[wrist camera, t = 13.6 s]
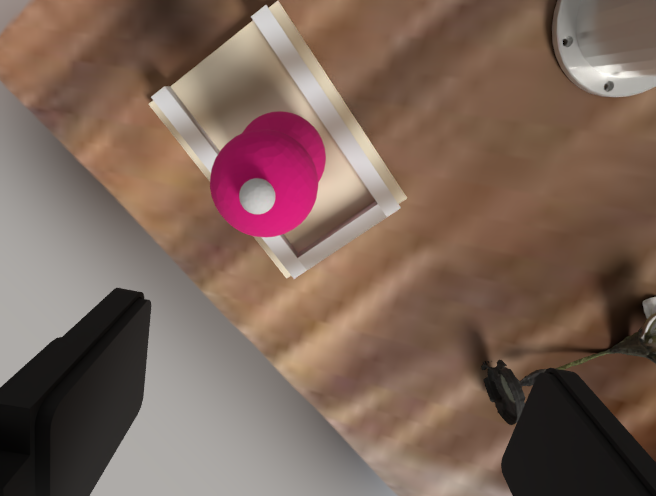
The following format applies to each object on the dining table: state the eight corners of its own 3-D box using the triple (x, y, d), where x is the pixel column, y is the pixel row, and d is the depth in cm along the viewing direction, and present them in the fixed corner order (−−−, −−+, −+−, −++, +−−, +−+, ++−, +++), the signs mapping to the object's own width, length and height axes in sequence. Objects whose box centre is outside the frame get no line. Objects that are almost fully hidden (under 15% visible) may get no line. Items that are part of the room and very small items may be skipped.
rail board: (152, 103, 40) (141, 104, 37) (278, 2, 37) (276, -4, 35) (287, 274, 45) (285, 284, 43) (405, 195, 43) (410, 201, 40)
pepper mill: (227, 151, 40) (146, 198, 21) (283, 91, 38) (250, 85, 20) (285, 207, 42) (258, 298, 23) (341, 152, 40) (362, 201, 21)
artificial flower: (468, 335, 49) (510, 360, 39) (656, 280, 51) (743, 291, 41) (488, 412, 50) (535, 456, 40) (674, 355, 51) (765, 384, 41)
